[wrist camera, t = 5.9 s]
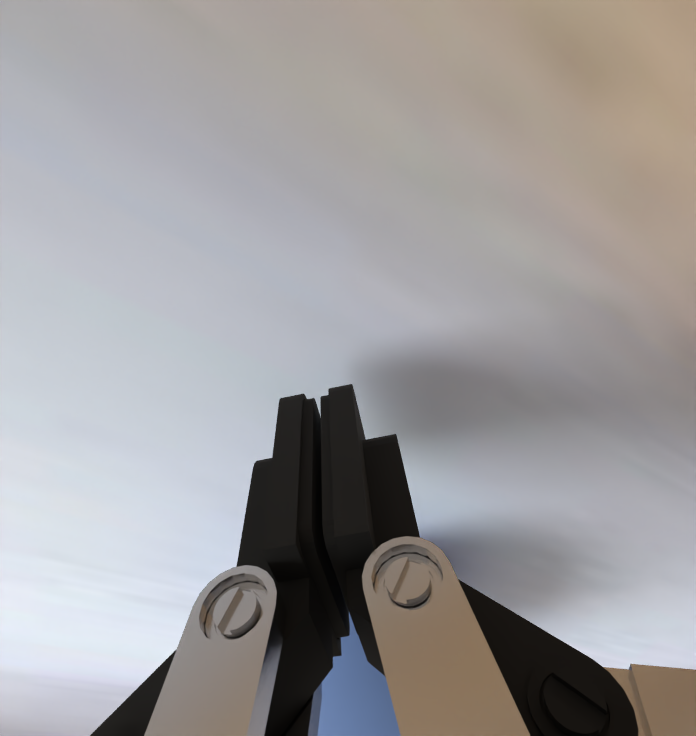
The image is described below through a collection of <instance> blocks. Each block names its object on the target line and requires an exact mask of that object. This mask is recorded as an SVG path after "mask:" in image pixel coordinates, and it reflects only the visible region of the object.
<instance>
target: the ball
mask: <svg viewBox="0 0 696 736" xmlns="http://www.w3.org/2000/svg"><path fill="white" fill-rule="evenodd" d="M349 623H350V635H349V636H346V637H341V653H342V656H336V657H333V668H332V669H331V671H330V672H329V673H328V675H327V676H326V677H325V679H324V680H323V681H322V701H321V710H320V719H319V727H318V736H401V735H400V731H399V727H398V723H397V719H396V715H395V711H394V708H393V704H392V700H391V696H390V692H389V688H388V684H387V680H386V677H385V676H384V675H383V674H382V673H381V672H379V671H378V670H377V669H376V668H375V667H373V666H372V665H371V664H370V663H369V662H368V661H367V658H366V656H365V653H364V650H363V647H362V644H361V642H360V639H359V636H358V635H357V632H356V630H355V627H354V624H353V621H352V619H351V616H350V613H349Z"/></svg>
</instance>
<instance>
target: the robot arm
mask: <svg viewBox="0 0 696 736" xmlns="http://www.w3.org/2000/svg"><path fill="white" fill-rule="evenodd" d="M349 613H350V616H351V619H352V621H353V624H354V627H355V630H356V632H357V635H358V636H359V639H360V642H361V644H362V647H363V650H364V653H365V656H366V658H367V661H368V662H369V663H370V664H371V665H372V666H373V667H375V668H376V669H377V670H378V671H379V672H381V673H382V674H383V675H384V676H385V677H386V680H387V684H388V688H389V692H390V696H391V700H392V704H393V708H394V711H395V715H396V719H397V723H398V727H399V731H400V735H401V736H696V670H692V669H681V668H670V667H659V666H648V665H637V664H630V668H629V670H628V669H617V668H606V667H602V666H601V665H599V664H598V663H597V662H595V661H594V660H593V659H591V658H589V657H588V656H586V655H584V654H583V653H581V652H579V651H578V650H576V649H574V648H573V647H571V646H569V645H568V644H566V643H564V642H563V641H561V640H559V639H558V638H556V637H554V636H552V635H551V634H549V633H547V632H546V631H544V630H542V629H541V628H539V627H537V626H536V625H534V624H532V623H531V622H529V621H527V620H526V619H524V618H522V617H521V616H519V615H517V614H516V613H514V612H512V611H510V610H509V609H507V608H505V607H504V606H502V605H500V604H499V603H497V602H495V601H494V600H492V599H490V598H489V597H487V596H485V595H484V594H482V593H480V592H479V591H477V590H475V589H473V588H472V587H470V586H468V585H467V584H465V583H463V582H462V581H460V580H458V579H457V576H456V574H455V572H454V570H453V568H452V566H451V563H450V561H449V560H448V558H447V557H446V555H445V554H444V552H443V551H442V550H441V549H440V548H438V547H437V546H436V545H435V544H433V543H432V542H430V541H427V540H425V539H422V538H420V536H419V531H418V527H417V523H416V518H415V514H414V510H413V505H412V501H411V497H410V492H409V488H408V484H407V479H406V475H405V471H404V466H403V462H402V458H401V453H400V449H399V445H398V440H397V436H396V434H393V435H388V436H383V437H378V438H373V439H368V440H366V439H365V435H364V431H363V427H362V422H361V418H360V414H359V410H358V405H357V401H356V397H355V393H354V389H353V385H352V384H350V385H345V386H340V387H335V388H330V389H329V395H327V396H322V397H321V418H320V414H319V411H318V408H317V404H316V401H315V399H314V398H312V399H306V396H305V395H304V394H300V395H295V396H290V397H285V398H281V399H280V400H279V407H278V416H277V424H276V432H275V441H274V449H273V458H269V459H264V460H259V461H256V462H255V464H254V467H253V472H252V478H251V484H250V490H249V496H248V502H247V508H246V514H245V520H244V526H243V532H242V538H241V544H240V550H239V556H238V562H237V567H233V568H231V569H229V570H227V571H225V572H223V573H221V574H219V575H218V576H217V577H216V578H214V579H213V580H212V581H210V582H209V583H208V584H207V586H206V587H205V588H204V589H203V590H202V592H201V593H200V594H199V596H198V598H197V600H196V602H195V604H194V605H193V608H192V610H191V613H190V616H189V618H188V621H187V624H186V626H185V629H184V631H183V634H182V637H181V639H180V642H179V645H178V647H177V649H176V650H175V651H174V652H173V653H172V654H171V655H170V656H169V657H168V658H167V659H166V660H165V661H164V662H163V663H162V664H161V665H160V666H159V667H158V668H157V669H156V670H155V671H154V672H153V673H152V674H151V675H150V676H149V677H148V678H147V679H146V680H145V681H144V682H143V683H142V684H141V685H140V686H139V687H138V688H137V689H136V690H135V691H134V692H133V693H132V694H131V695H130V696H129V697H128V698H127V699H126V700H125V701H124V702H123V703H122V704H121V705H120V706H119V707H118V708H117V709H116V710H115V711H114V712H113V713H112V714H111V715H110V716H109V717H108V718H107V719H106V720H105V721H104V722H103V723H102V724H101V725H100V726H99V727H98V728H97V729H96V730H95V731H94V732H93V733H92V734H91V735H90V736H318V727H319V719H320V710H321V701H322V681H323V680H324V679H325V677H326V676H327V675H328V673H329V672H330V671H331V669H332V668H333V657H336V656H342V653H341V637H346V636H349V635H350V623H349Z"/></svg>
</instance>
